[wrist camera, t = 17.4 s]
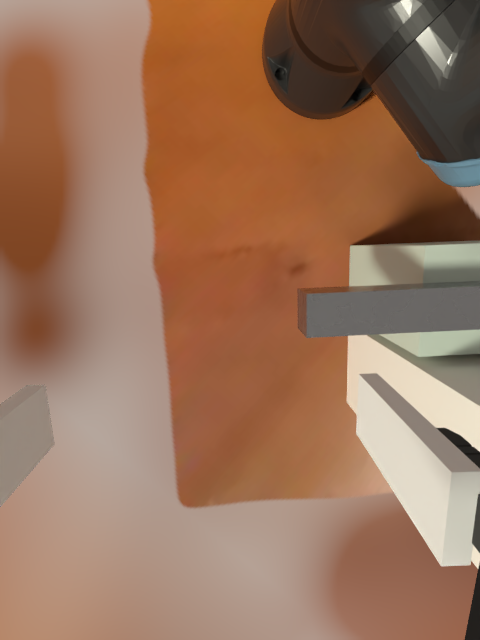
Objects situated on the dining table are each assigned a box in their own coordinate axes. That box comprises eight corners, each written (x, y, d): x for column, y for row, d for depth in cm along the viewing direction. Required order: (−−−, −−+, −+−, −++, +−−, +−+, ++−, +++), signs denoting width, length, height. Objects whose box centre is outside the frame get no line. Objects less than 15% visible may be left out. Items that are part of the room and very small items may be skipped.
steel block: (297, 327, 32) (306, 337, 29) (297, 288, 32) (306, 293, 28) (622, 312, 33) (668, 320, 30) (629, 274, 33) (677, 277, 29)
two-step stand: (346, 402, 55) (490, 584, 25) (350, 245, 50) (531, 245, 21) (451, 396, 55) (710, 568, 26) (464, 240, 50) (799, 234, 21)
